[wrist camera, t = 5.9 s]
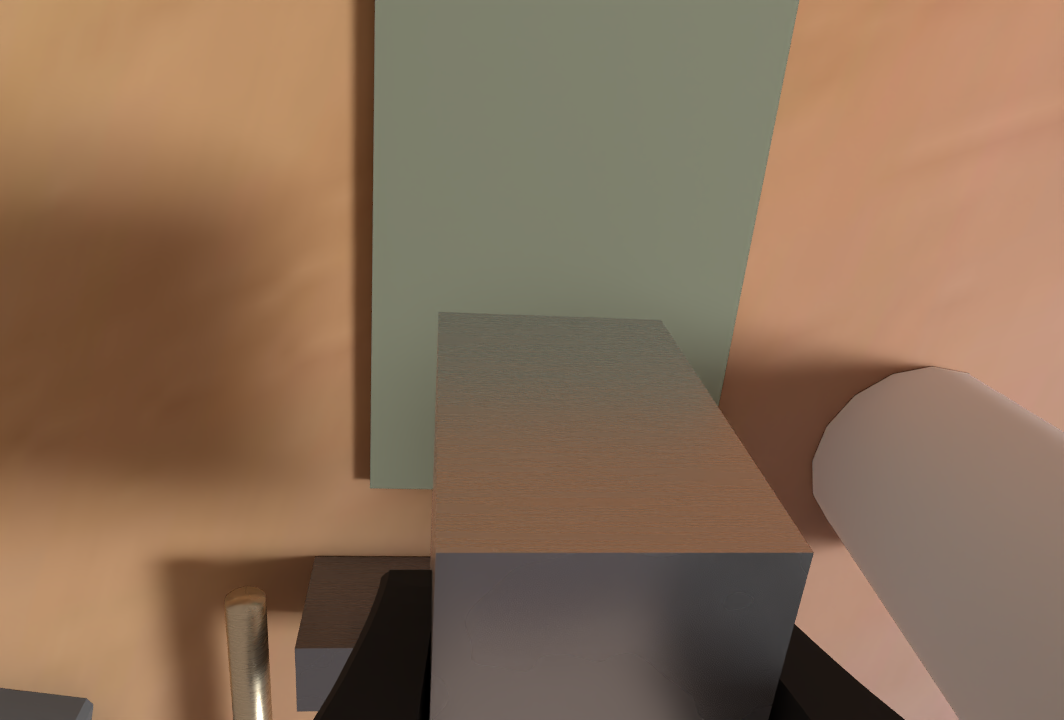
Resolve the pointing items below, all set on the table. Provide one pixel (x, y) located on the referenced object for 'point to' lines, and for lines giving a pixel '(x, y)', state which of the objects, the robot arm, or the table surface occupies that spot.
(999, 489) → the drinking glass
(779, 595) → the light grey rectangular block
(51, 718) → the bracket
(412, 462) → the mat
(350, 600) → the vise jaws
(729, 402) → the table surface
